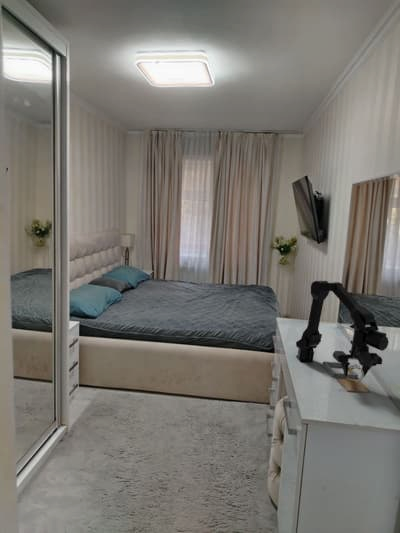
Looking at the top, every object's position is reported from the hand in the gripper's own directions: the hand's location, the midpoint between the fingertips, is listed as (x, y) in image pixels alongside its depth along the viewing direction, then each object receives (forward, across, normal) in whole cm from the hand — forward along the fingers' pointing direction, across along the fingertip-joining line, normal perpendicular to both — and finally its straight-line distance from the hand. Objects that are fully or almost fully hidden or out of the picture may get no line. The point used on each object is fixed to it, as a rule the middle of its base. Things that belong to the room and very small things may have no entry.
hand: (354, 376), depth 153 cm
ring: (+3, 0, 0) cm, 3 cm away
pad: (+4, 0, 0) cm, 4 cm away
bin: (+4, 0, +13) cm, 14 cm away
